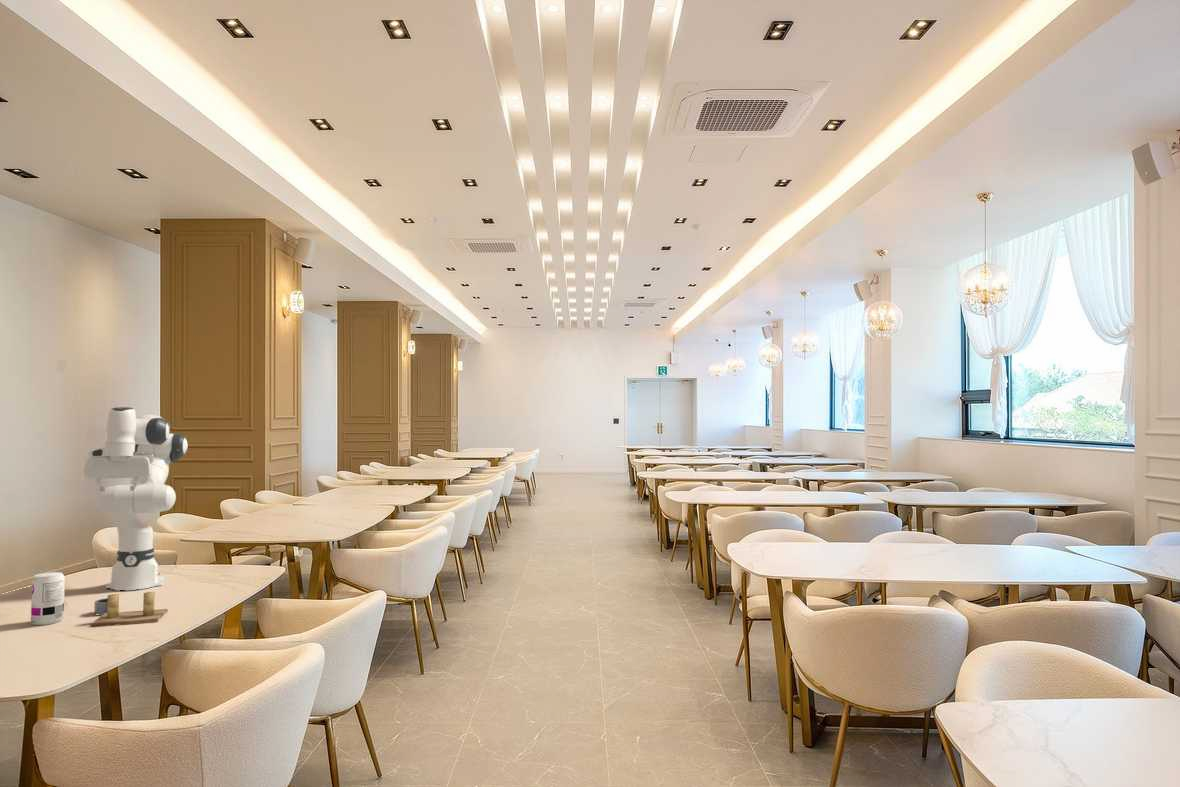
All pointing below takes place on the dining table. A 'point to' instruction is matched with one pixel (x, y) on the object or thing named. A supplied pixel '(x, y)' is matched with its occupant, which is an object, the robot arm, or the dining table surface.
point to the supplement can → (47, 598)
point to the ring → (101, 606)
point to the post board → (129, 617)
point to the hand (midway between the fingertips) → (117, 491)
